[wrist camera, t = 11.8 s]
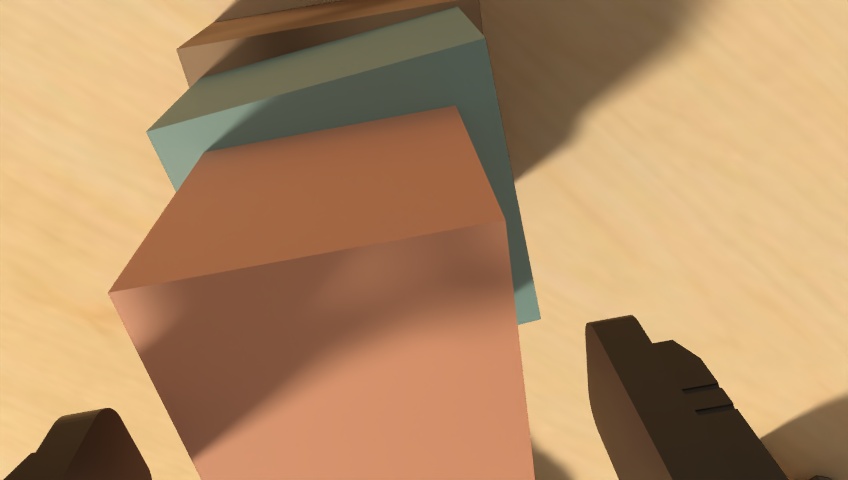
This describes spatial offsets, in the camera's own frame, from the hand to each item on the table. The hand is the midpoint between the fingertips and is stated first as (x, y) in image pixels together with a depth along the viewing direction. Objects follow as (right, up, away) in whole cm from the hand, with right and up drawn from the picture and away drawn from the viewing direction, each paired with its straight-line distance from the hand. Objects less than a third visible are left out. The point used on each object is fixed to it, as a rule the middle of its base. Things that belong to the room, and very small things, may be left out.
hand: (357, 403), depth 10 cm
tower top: (-1, +5, +10) cm, 11 cm away
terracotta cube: (-1, +3, +5) cm, 6 cm away
